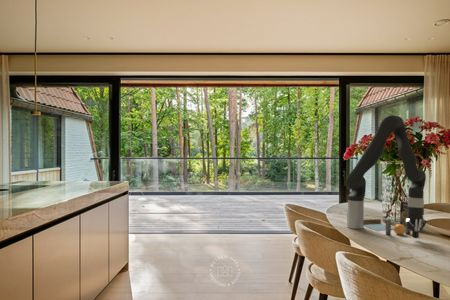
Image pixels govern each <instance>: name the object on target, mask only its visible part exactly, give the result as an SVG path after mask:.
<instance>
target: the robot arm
mask: <svg viewBox="0 0 450 300" xmlns="http://www.w3.org/2000/svg"><path fill="white" fill-rule="evenodd" d="M392 134H393V135H394V137H395V141H396V144H397V152H398V155H399V158H400V159H401V161H402V162H401V163H402V164H403V169H404V173H405V176H406V178H407V180H408V181H409V182H411V185H410V186H409V187H408V198H407V201H408V214H409V216H408V219H407V220H405V221H404V222H405V224H406V225H407V227H408V228H409V229H410V230H411V232H412V233H411V234H412V238H413V239H419V235H420V231H422V230H424V228H425V226H426V225H427V223H428V221H427V220H425V219H424V215H425V200H424V197H425V196H424V195H425V194H424V189H425V186H426V185H425V184H426V182H427V180H426V179H427V177H426V176H427V175H426V172H425V171H424V170H423V169H421V168H418V165H417V163H418V159H417V156H416V154H415V152H414V150H413V148H412V146H411V143H410V140H409V137H408V133H407V131H406V127H405V122H404V120H403V118H402V117H401V116H399V115H394V114H388V115H386V116H385V117H383V118H382V120H381V122H380V123H379V126H378V128H377V130H376V132H375V135H374V136H373V137H372V139H370V142H369V144H368V145H367V146H366V148H365V150H364V151H363V154H362V155H361V156H360V159H358V162H357V163H356V165H355V166H354V168H353V169H352V170H351V172H350V173H349V174H348V176H347V177H346V179H345V186H346V188H347V189H349V190H351V191H350V193H349V194H348V195H347V213H346V214H347V215H346V226H347V227H348V228H350V229H353V230H361V229H362V230H363V229H364V226H363V225H364V224H363V223H364V216H365V214H364V211H365V203H364V201H365V196H366V189H367V188H366V187H367V186H366V184H367V183H366V179H365V177H364V176H365V174H367V172H368V171H369V170H370V169H372V168H374V166H375V165H376V164H377V163H378V162H379V160H380V159H381V157H382V156H383V153H384V151H385V146H386V143H387V140H388V138H389V137H390V135H392ZM410 223H411V224H410Z"/></svg>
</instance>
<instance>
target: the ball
mask: <svg viewBox="0 0 450 300" xmlns="http://www.w3.org/2000/svg"><path fill="white" fill-rule="evenodd" d="M393 228H394V230H393V231H394V233H395V234H397V235H400V236H401V235H403V234H405V227H404V226H403V225H401V224H400V223H397V224H395V225H394V226H393Z"/></svg>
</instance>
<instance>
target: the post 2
mask: <svg viewBox="0 0 450 300" xmlns="http://www.w3.org/2000/svg"><path fill="white" fill-rule="evenodd" d="M407 219H408V218H406V220H407ZM410 224H411V223H410ZM411 232H412V230H410V229H409V228H408V227H407V225H406V224H405V233H404V234H406V235H411V234H412V233H411Z"/></svg>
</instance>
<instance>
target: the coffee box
mask: <svg viewBox="0 0 450 300" xmlns="http://www.w3.org/2000/svg"><path fill="white" fill-rule="evenodd" d="M399 208H400V209H399V210H400V211H399V212H400V214H399V215H400V216H399V219H400V220H399V221H400V223H399V224H401V225H403V226H404V227H405V222H404V221H405V220H406V218H408V216H409V214H408V200H405V201H403V200H402V201H400V206H399Z"/></svg>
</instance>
